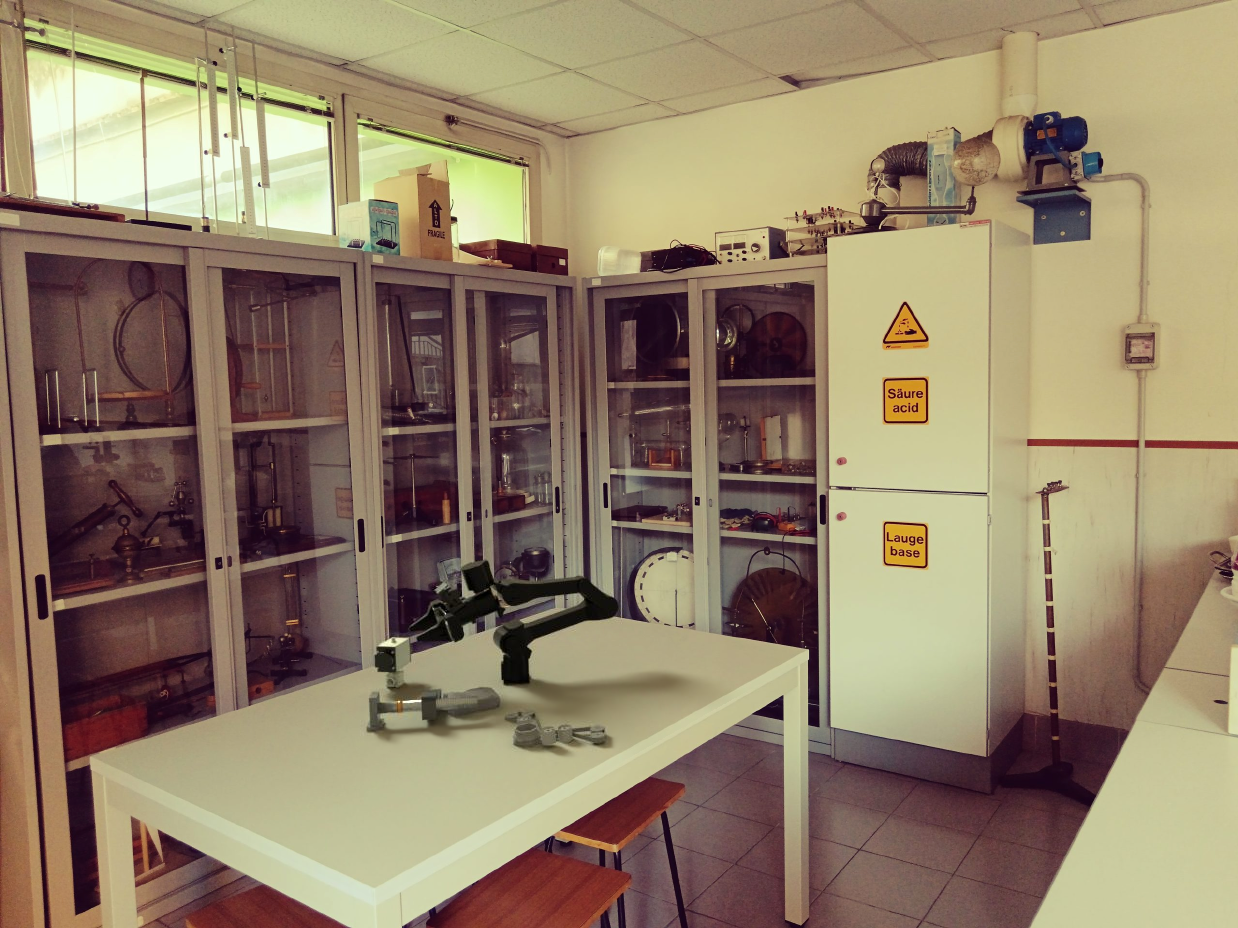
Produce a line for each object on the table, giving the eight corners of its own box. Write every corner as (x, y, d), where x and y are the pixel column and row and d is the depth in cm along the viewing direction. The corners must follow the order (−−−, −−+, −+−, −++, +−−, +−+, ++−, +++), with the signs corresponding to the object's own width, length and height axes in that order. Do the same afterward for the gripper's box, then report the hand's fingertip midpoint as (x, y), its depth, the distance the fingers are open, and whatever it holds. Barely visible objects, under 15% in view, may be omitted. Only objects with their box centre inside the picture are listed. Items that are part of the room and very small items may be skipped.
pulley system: (569, 767, 172) (617, 738, 184) (567, 743, 172) (615, 716, 184) (471, 741, 189) (521, 716, 201) (469, 719, 189) (519, 695, 200)
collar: (441, 699, 207) (440, 676, 206) (436, 721, 193) (435, 697, 192) (428, 700, 207) (427, 677, 206) (422, 722, 192) (421, 698, 192)
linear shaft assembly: (478, 715, 199) (477, 684, 198) (477, 723, 194) (476, 692, 193) (370, 722, 196) (368, 691, 195) (366, 731, 191) (365, 698, 190)
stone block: (439, 713, 207) (451, 717, 198) (438, 691, 207) (450, 695, 198) (488, 705, 212) (502, 709, 203) (487, 684, 213) (501, 688, 204)
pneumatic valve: (414, 678, 226) (412, 631, 226) (393, 693, 215) (391, 644, 214) (393, 677, 228) (391, 630, 227) (372, 692, 216) (370, 643, 215)
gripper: (454, 570, 224) (394, 595, 219) (473, 585, 207) (408, 612, 202) (468, 610, 227) (409, 636, 221) (488, 628, 210) (424, 656, 204)
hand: (412, 634), depth 212 cm, fingers open, 9 cm apart
